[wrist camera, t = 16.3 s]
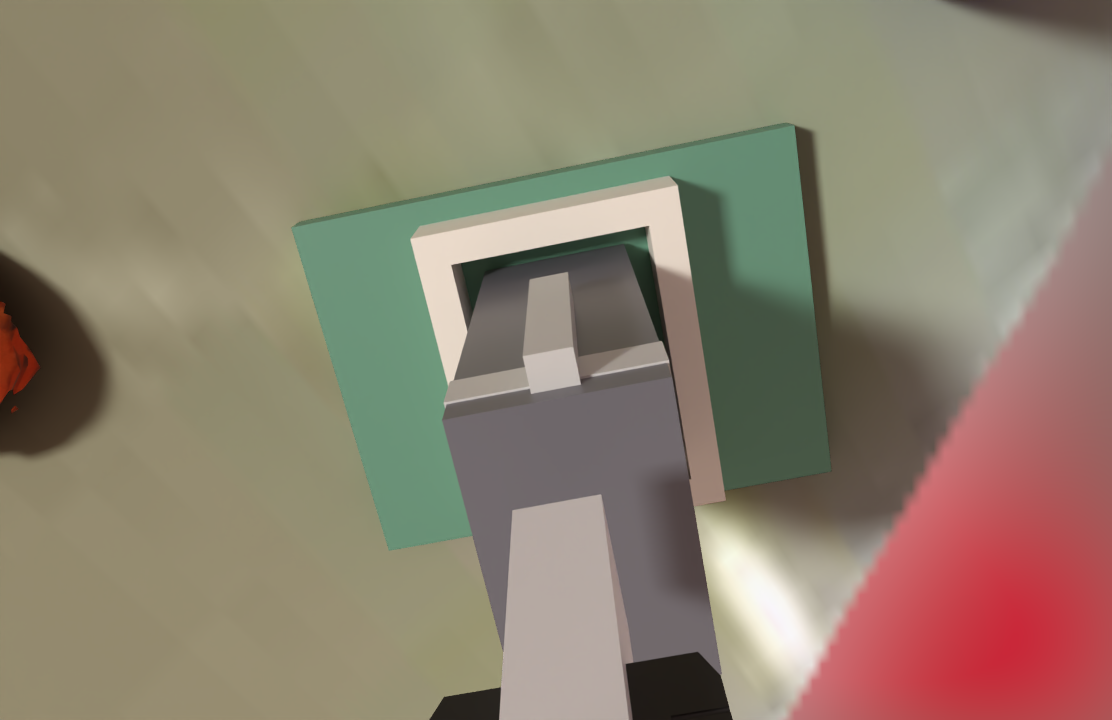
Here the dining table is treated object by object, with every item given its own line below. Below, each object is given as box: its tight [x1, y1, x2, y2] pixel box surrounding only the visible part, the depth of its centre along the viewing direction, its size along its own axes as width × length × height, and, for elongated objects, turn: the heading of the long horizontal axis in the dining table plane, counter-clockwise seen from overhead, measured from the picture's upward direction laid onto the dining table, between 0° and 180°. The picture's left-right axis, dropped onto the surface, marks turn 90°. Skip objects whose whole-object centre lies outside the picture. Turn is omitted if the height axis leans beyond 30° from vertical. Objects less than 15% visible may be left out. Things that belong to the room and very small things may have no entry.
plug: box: [442, 244, 722, 674], centre depth 24 cm, size 5×8×12 cm, turn 11°
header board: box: [292, 123, 831, 551], centre depth 29 cm, size 16×12×3 cm
